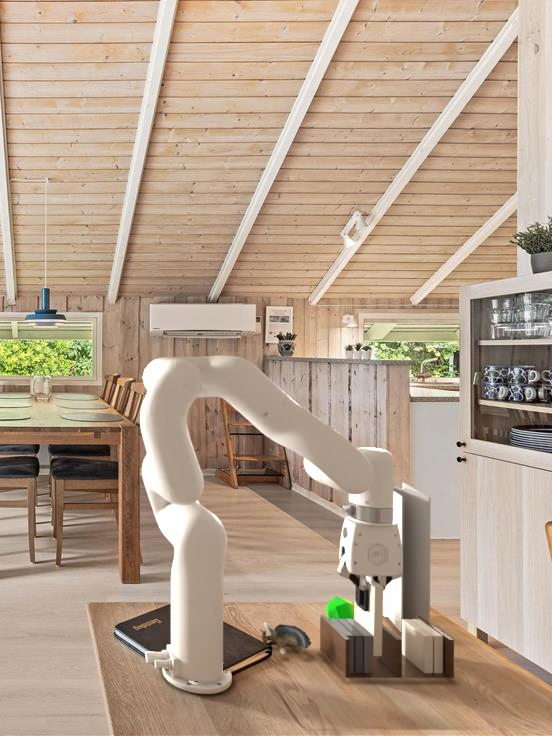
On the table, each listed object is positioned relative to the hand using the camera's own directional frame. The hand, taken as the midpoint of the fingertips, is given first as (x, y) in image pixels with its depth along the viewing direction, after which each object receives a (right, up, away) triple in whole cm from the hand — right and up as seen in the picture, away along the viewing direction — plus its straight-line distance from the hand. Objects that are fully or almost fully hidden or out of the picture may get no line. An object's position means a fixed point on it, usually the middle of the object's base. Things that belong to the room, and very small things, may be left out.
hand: (368, 607), depth 120 cm
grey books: (-4, -11, 0) cm, 11 cm away
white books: (+10, -11, 0) cm, 15 cm away
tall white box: (+18, -12, +19) cm, 29 cm away
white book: (0, -8, 0) cm, 8 cm away
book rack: (+3, -12, 0) cm, 12 cm away
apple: (+5, -12, +18) cm, 22 cm away
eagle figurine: (-14, -12, +5) cm, 19 cm away
